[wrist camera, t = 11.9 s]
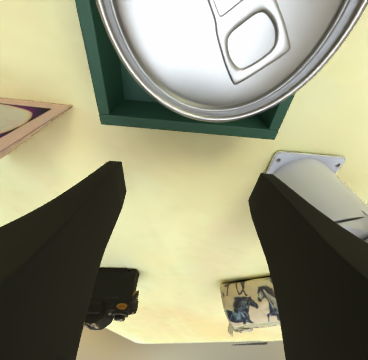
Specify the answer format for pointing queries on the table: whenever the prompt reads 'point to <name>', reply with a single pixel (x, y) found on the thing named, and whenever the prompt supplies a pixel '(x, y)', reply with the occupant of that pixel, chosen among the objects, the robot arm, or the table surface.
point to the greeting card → (24, 121)
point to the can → (226, 49)
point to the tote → (145, 104)
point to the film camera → (112, 297)
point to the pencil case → (250, 304)
